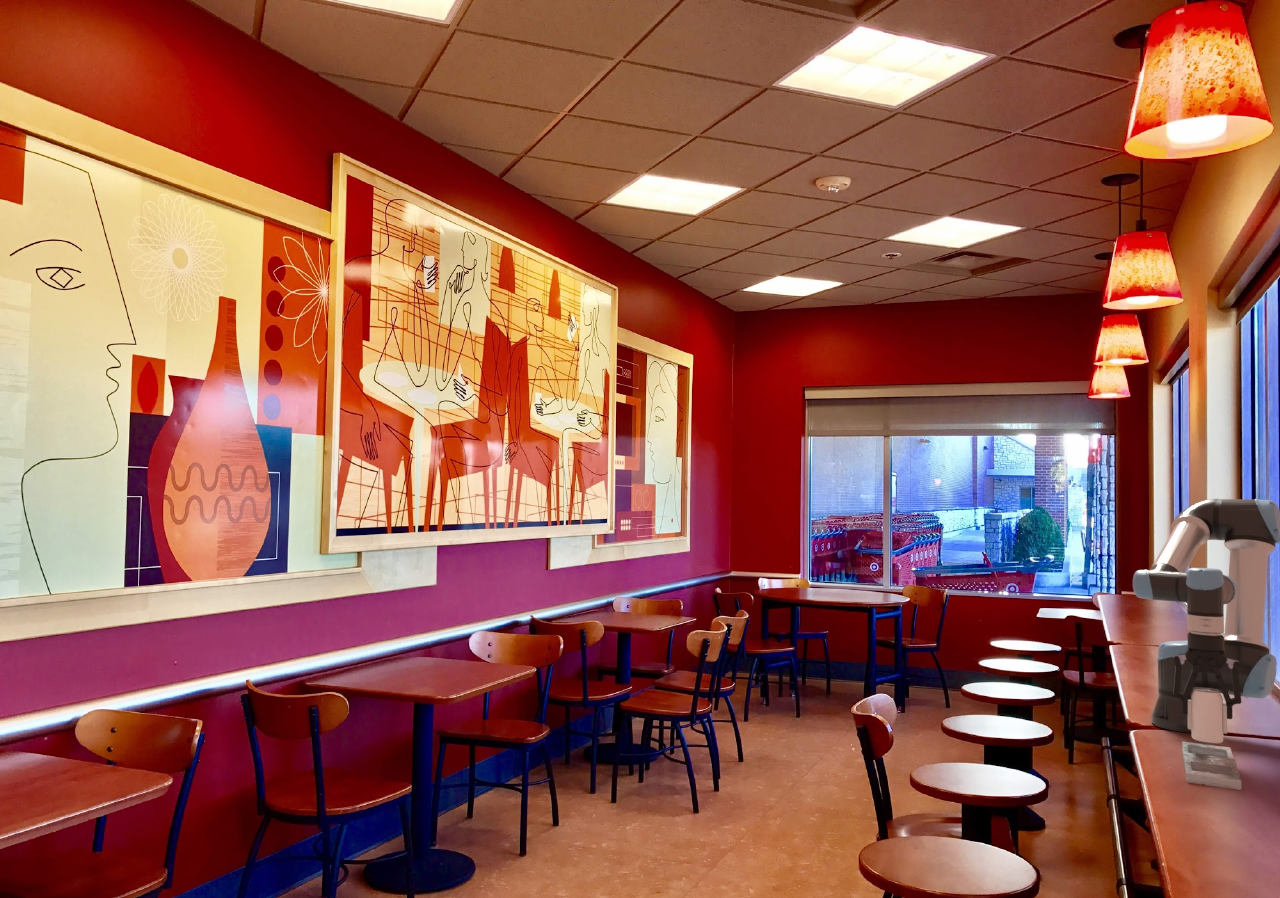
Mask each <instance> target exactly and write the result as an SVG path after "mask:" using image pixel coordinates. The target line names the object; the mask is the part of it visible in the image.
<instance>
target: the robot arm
mask: <svg viewBox="0 0 1280 898" xmlns="http://www.w3.org/2000/svg"><path fill="white" fill-rule="evenodd" d="M1208 541H1224V543H1223V544H1224V547H1225V548H1227V550H1228V551H1229V552H1230V553H1229V562H1228V563H1229V564H1228V575H1226V574H1224V573H1223V571H1222V570H1221V569H1219V568H1211V567H1210V568H1208V567H1191V568H1189V567H1190V565H1191V563H1192V561H1193V559H1194V558H1195V556H1196V554H1197V552H1198V550H1199V549H1200V547H1201V546H1203V545H1204V544H1206V543H1207V542H1208ZM1276 544H1280V508H1279V506H1278V504H1277V503H1276V502H1275V501H1273V500H1272V499H1271V500H1270V499H1258V498H1255V499H1251V498H1250V499H1247V498H1246V499H1243V498H1242V499H1241V498H1240V499H1239V498H1238V499H1237V498H1234V499H1233V498H1228V499H1227V498H1222V499H1221V498H1210V499H1205V500H1201V501H1199V502H1196V503H1193V504H1192V505H1190V506H1188V507H1187V508H1184V509H1183V510H1182V511H1180V512H1179V514H1177V515H1176V517H1175V518H1174V520H1173V522H1172V523H1171V526H1170V534H1169V536H1168V538H1167V540H1166V542H1165V543H1164V545H1163V547H1162V548H1161V550H1160V552H1159V553H1158V555H1157V557H1156V559H1155V560H1154V562H1153V564H1152V565H1151V567H1150V568H1149V569H1139V570H1136V571H1135V572H1134V574H1133V578H1132V589H1133V593H1134V594H1135V596H1136V597H1137V598H1139V599H1145V600H1150V601H1163V602H1165V601H1166V602H1177V603H1178V602H1179V603H1186V604H1187V605H1186V607H1187V609H1186V610H1187V612H1186V613H1187V614H1186V617H1187V618H1186V619H1187V620H1186V622H1187V623H1186V624H1187V625H1186V626H1187V630H1188V631H1189V632H1188V633H1187V640H1172V641H1166V642H1162V643H1160V644H1159V645H1158V648H1157V649H1158V650H1157V659H1156V660H1157V685H1158V687H1157V688H1158V689H1157V693H1158V694H1157V698H1156V701H1155V704H1154V706H1153V709H1152V713H1151V715H1150V717H1151V719H1150V720H1151V724H1152V723H1153V724H1152V725H1154V724H1155V725H1154V726H1156V727H1158V728H1162V729H1164V730H1165V729H1166V730H1170V731H1175V732H1181V733H1189V734H1192V733H1191V730H1192V704H1191V694H1192V692H1193V688H1195V687H1204V688H1212V689H1217V690H1220V694H1221V695H1222V697H1223V700H1224V701H1225V702H1223V735H1224V734H1226V735H1227V734H1228V720H1233V706H1235V705H1240V704H1242V697H1243V698H1245V699H1248V698H1249V699H1250V698H1252V699H1253V698H1254V699H1266V698H1267V697H1268V696H1269V695H1270V693H1271V692H1272V691H1273V689H1274V686H1275V681H1276V676H1277V664H1278V663H1277V658H1276V656H1275V655H1273V654H1272V653H1270V647H1269V646H1268V645H1267V644H1266V643H1264V642H1265V641H1264V627H1265V610H1266V609H1265V608H1266V592H1267V591H1266V590H1267V574H1268V572H1267V571H1268V562H1269V561H1268V559H1269V555H1270V554H1272V553H1273V552H1275V551H1276ZM1188 568H1189V569H1188ZM1225 605H1226V606H1225ZM1224 606H1225V607H1226V608H1225V610H1224ZM1224 612H1225V613H1224ZM1224 614H1225V615H1224ZM1223 633H1224V635H1223ZM1231 696H1233V697H1231Z"/></svg>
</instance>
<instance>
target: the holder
mask: <svg viewBox="0 0 1280 898" xmlns="http://www.w3.org/2000/svg"><path fill="white" fill-rule="evenodd" d="M1181 749H1182V750H1181V751H1182V758H1183V764H1184V771H1185V778H1186V783H1189V784H1196V785H1202V784H1205V785H1204V786H1210V787H1217V788H1224V789H1231V790H1238V791H1242V778H1241V776H1240V773H1239V769H1238V767H1237V763H1236V760H1235V758H1234V755H1233V753H1232V749H1231V747H1230V746H1221V745H1215V744H1207V743H1196V742H1188V741H1181ZM1207 772H1209V773H1207Z"/></svg>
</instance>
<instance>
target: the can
mask: <svg viewBox="0 0 1280 898" xmlns="http://www.w3.org/2000/svg"><path fill="white" fill-rule="evenodd" d="M1223 703H1224V697H1223V695H1222V693H1220V690H1217V689H1212V688H1204V687H1195V688H1193V692H1192V694H1191V704H1192V730H1191V733H1190V734H1191V738H1192V740H1194V741H1196V742H1200V743H1202V744H1209V745H1218V744H1222V743H1223V742H1224V733H1223Z"/></svg>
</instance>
